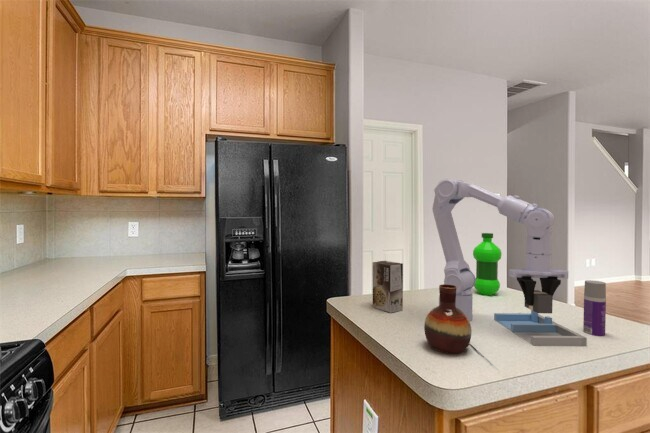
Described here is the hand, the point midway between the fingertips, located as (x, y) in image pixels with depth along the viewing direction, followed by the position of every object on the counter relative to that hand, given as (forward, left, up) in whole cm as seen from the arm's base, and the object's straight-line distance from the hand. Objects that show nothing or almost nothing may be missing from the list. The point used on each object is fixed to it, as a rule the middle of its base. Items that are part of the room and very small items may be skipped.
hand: (537, 304), depth 89 cm
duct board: (+2, +3, -9) cm, 10 cm away
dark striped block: (0, 0, -1) cm, 1 cm away
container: (+17, +2, -10) cm, 20 cm away
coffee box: (-35, +27, -10) cm, 45 cm away
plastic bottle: (+10, +49, -10) cm, 51 cm away
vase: (-26, -6, -10) cm, 28 cm away
